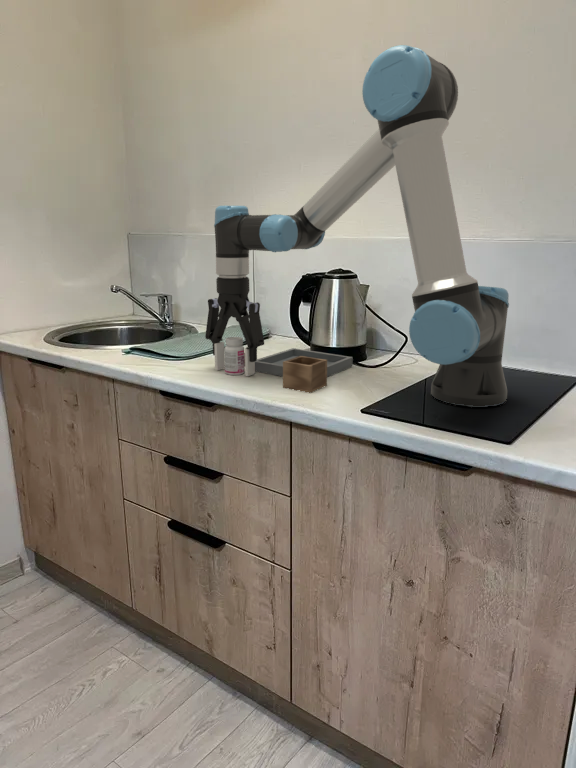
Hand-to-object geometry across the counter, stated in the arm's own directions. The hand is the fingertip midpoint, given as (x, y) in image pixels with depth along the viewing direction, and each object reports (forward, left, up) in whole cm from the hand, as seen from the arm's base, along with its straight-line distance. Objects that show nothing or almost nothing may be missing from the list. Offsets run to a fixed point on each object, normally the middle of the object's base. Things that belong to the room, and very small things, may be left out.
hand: (234, 371), depth 137 cm
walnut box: (-20, 0, 0) cm, 20 cm away
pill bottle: (0, 0, 0) cm, 0 cm away
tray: (-11, -13, 0) cm, 17 cm away
